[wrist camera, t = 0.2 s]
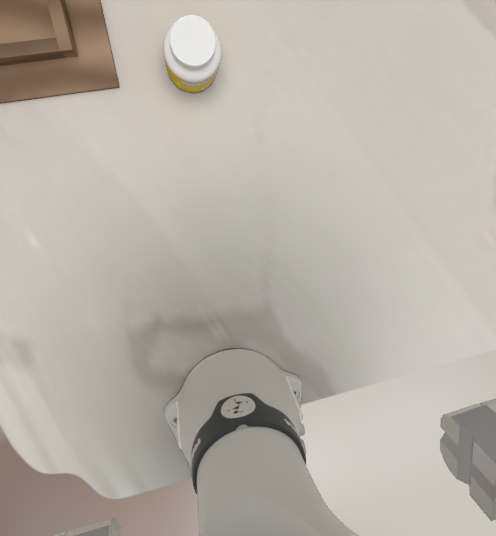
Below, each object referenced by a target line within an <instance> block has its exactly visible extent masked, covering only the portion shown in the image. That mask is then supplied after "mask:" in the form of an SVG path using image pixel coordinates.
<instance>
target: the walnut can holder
mask: <svg viewBox="0 0 496 536" xmlns="http://www.w3.org/2000/svg"><path fill="white" fill-rule="evenodd" d="M111 88H119V83H118V78H117V74H116V69H115V65H114V60H113V56H112V51H111V47H110V42H109V38H108V33H107V29H106V24H105V20H104V15H103V11H102V6H101V2H100V0H0V103H7V102H14V101H22V100H29V99H36V98H44V97H51V96H59V95H66V94H74V93H81V92H89V91H96V90H104V89H111Z"/></svg>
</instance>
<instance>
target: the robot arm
mask: <svg viewBox="0 0 496 536" xmlns="http://www.w3.org/2000/svg"><path fill="white" fill-rule="evenodd" d="M293 391H295V392H293ZM301 395H302V383H301V380H300V378H299V377H298V376H296V375H294V374H291V373H288V372H285V371H283V370H281V369H280V368H279V367H278V366H277V365H276V364H275V363H273V362H272V361H271V360H270V359H269V358H267V357H266V356H264V355H262V354H260V353H257V352H255V351H251V350H246V349H231V350H225V351H221V352H218V353H215V354H213V355H211V356H209V357H207V358H205V359H204V360H202V361H201V362H200V363H199V364H197V365H196V366H195V367H194V368H193V370H192V371H191V372H190V373H189V375H188V376H187V378H186V380H185V382H184V384H183V386H182V389H181V390H180V392H179V394H178V395H177V396H175V397H174V398H173V399H172V400H171V401H170V402H169V403H168V404H167V406H166V407H165V410H164V412H165V418H166V420H167V422H168V424H169V426H170V428H171V430H172V432H173V434H174V436H175V438H176V440H177V442H178V445H179V448H180V449H181V450H182V452H183V454H184V456H185V458H186V460H187V462H188V464H189V466H190V468H191V476H192V479H193V486H194V489H195V492H196V494H197V500H198V523H199V536H358V535H357V534H356V533H354V532H353V531H352V530H350V529H349V528H348V527H347V526H345V525H344V524H343V523H342V522H341V521H340V520H339V519H338V518H337V517H336V516H335V515H334V514H333V513H332V511H331V510H330V509H329V508H328V506H327V505H326V503H325V502H324V500H323V498H322V497H321V495H320V493H319V491H318V489H317V487H316V485H315V483H314V481H313V479H312V477H311V476H310V473H309V471H308V469H307V467H306V450H305V445H304V441H303V440H301V439H300V436H302V435H304V433H305V430H304V425H303V424H301V423H300V421H301V420H302V419H303V416H302V412H301V409H300V407H301ZM175 418H177V420H175ZM441 428H442V429H443V430H444V431H445V433H444V435H443V436H442V438H441V439H440V450H441V453H442V455H443V459H444V461H445V463H446V465H447V466H448V468H449V470H450V471H451V472H452V474H453V475H454V476H455V477H456V479H458V480H460V481H462V482H464V483H466V484H468V485H469V491H470V496H471V497H472V498H473V500H474V501H475V502H476V503H477V504H478V506H479V507H480V508H481V509H482V510H483V512H484V513H485V514H486V515H487V516H488V518H489V519H490V520H491V521H492V520H495V519H496V398H495V399H492V400H489V401H486V402H482V403H480V404H475V405H471V406H468V407H465V408H462V409H459V410H456V411H453V412H450V413H447V414H444V415H443V416H442V418H441ZM54 536H120V526H119V524H118V522H117V520H116V518H114V519H110V520H107V521H103V522H99V523H95V524H92V525H89V526H85V527H81V528H78V529H74V530H71V531H68V532H64V533H61V534H57V535H54Z"/></svg>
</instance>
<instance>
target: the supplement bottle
mask: <svg viewBox="0 0 496 536" xmlns="http://www.w3.org/2000/svg"><path fill="white" fill-rule="evenodd" d="M163 51H164V58H165V63H166V67H167V71H168V74H169V77H170V79H171V80H172V82H173V83H174V84H175V85H176V86H177V87H178V88H179V89H181V90H183V91H185V92H189V93H198V92H201V91H204V90H205V89H207V88H208V87H209V86H210V85H211V84H212V82H213V81H214V79H215V76H216V73H217V70H218V67H219V64H220V60H221V44H220V40H219V37H218V35H217V33H216V32H215V30H214V29H213V28H212V27H211V26H210V24H209V23H208V22H207V21H206V20H205V19H203V18H201V17H199V16H196V15H186V16H183V17H181V18H179V19H178V20H177V21H176V22H175V23H174V24H173V25H172V26H171V27H170V28H169V29H168V31H167V33H166V35H165V38H164V44H163Z"/></svg>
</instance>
